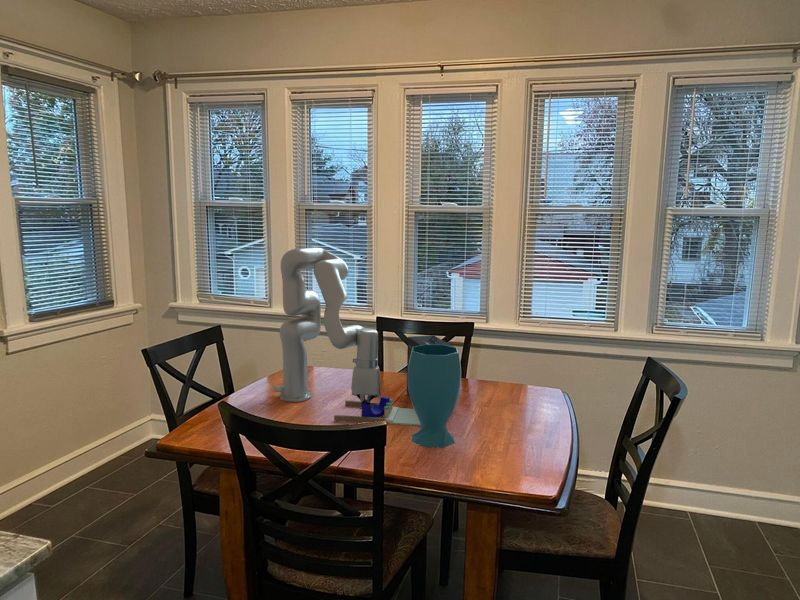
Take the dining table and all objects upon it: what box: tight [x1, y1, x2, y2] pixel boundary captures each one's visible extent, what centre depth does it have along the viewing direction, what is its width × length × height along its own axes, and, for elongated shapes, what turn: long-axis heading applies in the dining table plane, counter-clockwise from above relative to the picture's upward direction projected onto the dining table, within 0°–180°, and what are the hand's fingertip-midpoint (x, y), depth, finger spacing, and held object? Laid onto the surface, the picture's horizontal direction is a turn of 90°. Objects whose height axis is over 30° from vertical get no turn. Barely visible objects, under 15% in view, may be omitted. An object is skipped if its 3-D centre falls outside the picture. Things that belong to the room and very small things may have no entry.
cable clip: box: [361, 395, 390, 418], centre depth 200 cm, size 12×4×6 cm, turn 143°
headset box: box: [406, 334, 454, 395], centre depth 217 cm, size 22×12×26 cm, turn 19°
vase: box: [408, 344, 462, 449], centre depth 179 cm, size 17×17×30 cm
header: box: [333, 398, 421, 427], centre depth 201 cm, size 33×17×5 cm, turn 81°
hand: (365, 411), depth 202 cm, fingers closed
